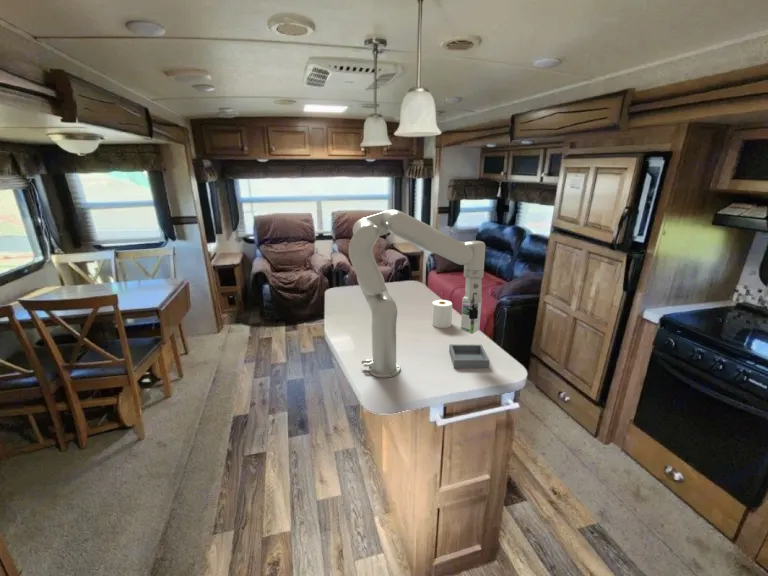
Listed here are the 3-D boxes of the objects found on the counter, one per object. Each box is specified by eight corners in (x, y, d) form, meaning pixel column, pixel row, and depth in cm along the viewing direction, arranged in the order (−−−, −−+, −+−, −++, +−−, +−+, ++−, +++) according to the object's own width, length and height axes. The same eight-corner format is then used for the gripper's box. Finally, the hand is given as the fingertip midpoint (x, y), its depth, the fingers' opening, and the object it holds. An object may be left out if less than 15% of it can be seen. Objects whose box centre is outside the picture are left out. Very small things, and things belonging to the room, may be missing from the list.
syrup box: (460, 330, 144) (461, 297, 139) (467, 326, 148) (469, 293, 143) (472, 334, 140) (474, 300, 135) (479, 330, 144) (482, 296, 139)
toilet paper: (441, 319, 191) (441, 298, 188) (455, 324, 183) (456, 303, 180) (427, 323, 185) (428, 302, 182) (441, 329, 177) (442, 307, 174)
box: (453, 368, 141) (454, 360, 140) (449, 351, 155) (449, 344, 154) (488, 368, 141) (489, 360, 140) (481, 352, 154) (481, 344, 153)
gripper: (488, 278, 128) (485, 323, 133) (478, 267, 145) (476, 307, 150) (468, 278, 128) (465, 322, 134) (460, 267, 145) (458, 307, 150)
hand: (471, 314), depth 142 cm, fingers closed on syrup box, 8 cm apart
